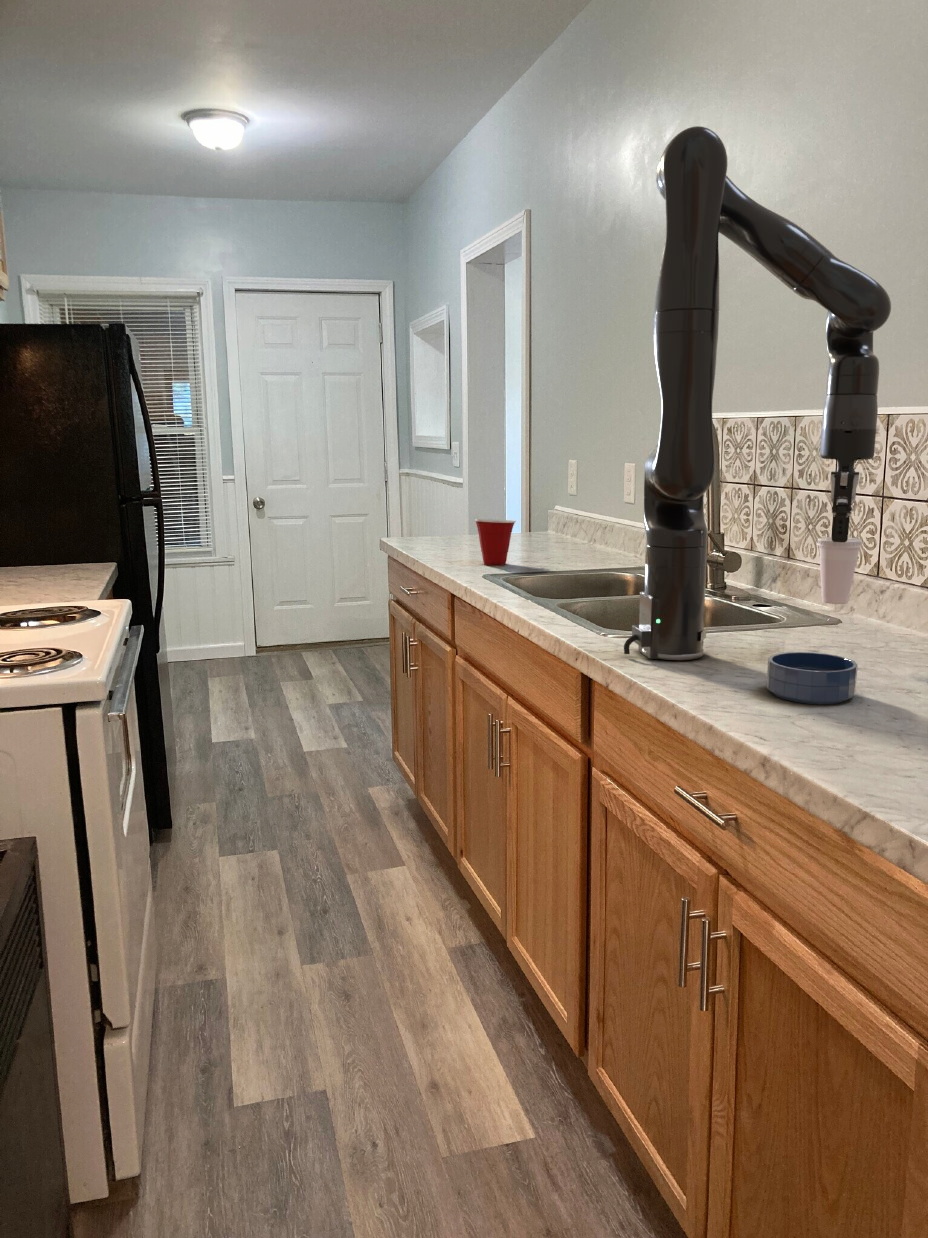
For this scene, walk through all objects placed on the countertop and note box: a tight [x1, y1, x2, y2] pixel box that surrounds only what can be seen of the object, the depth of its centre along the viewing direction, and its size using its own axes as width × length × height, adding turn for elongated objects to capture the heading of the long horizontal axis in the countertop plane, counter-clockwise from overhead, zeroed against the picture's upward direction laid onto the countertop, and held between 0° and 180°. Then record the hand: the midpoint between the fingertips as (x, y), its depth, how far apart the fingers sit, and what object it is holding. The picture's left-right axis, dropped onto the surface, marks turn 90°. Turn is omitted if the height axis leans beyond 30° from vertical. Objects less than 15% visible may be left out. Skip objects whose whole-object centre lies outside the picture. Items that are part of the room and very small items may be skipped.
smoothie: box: [816, 516, 863, 605], centre depth 146 cm, size 6×6×14 cm
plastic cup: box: [474, 518, 517, 567], centre depth 251 cm, size 11×11×12 cm
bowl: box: [766, 651, 858, 705], centre depth 128 cm, size 11×11×4 cm
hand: (839, 538), depth 146 cm, fingers closed on smoothie, 6 cm apart
